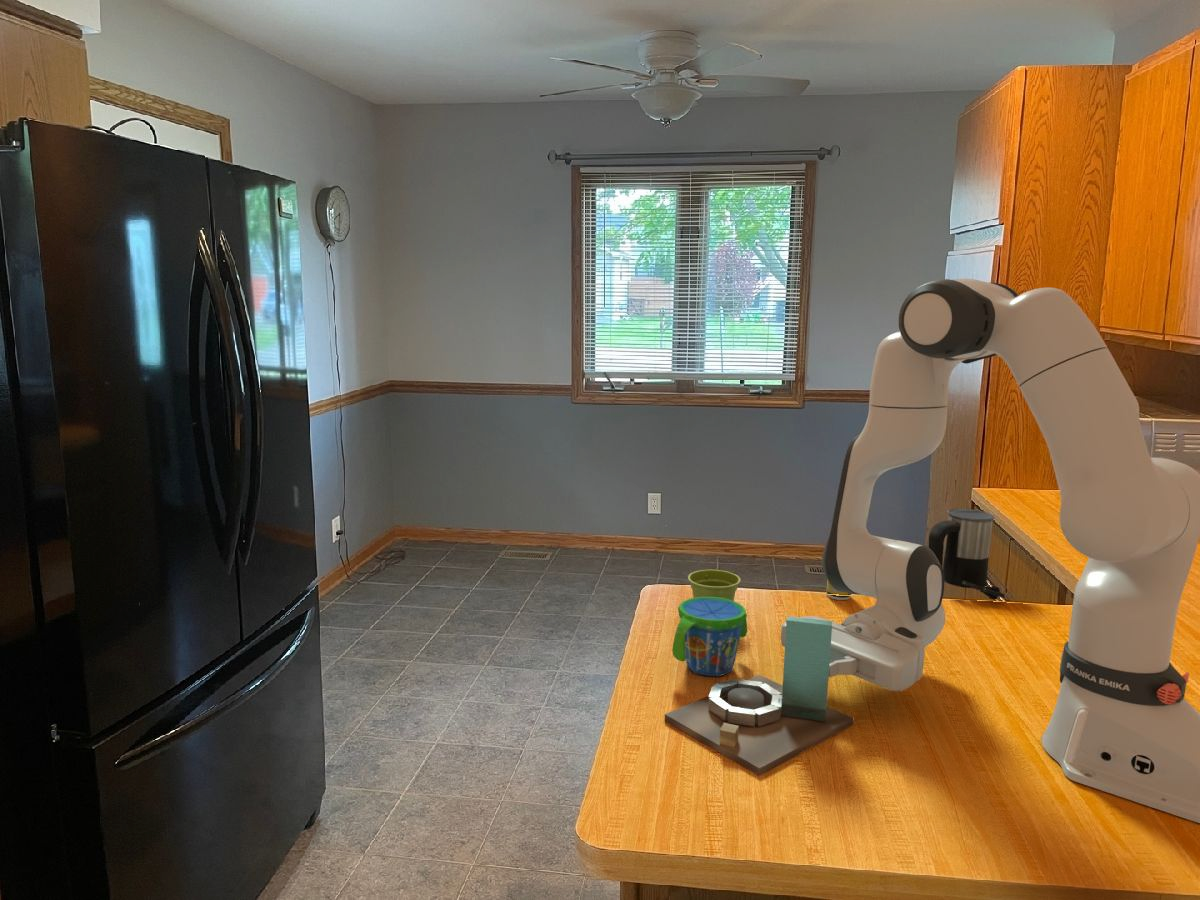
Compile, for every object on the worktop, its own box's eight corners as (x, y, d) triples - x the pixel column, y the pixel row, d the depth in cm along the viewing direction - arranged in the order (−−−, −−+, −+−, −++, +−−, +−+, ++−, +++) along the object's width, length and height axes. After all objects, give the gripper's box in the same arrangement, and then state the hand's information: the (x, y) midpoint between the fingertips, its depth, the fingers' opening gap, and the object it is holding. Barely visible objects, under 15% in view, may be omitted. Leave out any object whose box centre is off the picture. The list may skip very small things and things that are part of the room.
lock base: (853, 724, 115) (854, 704, 115) (759, 775, 103) (760, 753, 102) (758, 680, 128) (759, 662, 128) (664, 720, 116) (665, 700, 115)
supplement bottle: (852, 601, 162) (855, 560, 160) (827, 599, 163) (829, 558, 161) (849, 593, 166) (852, 553, 165) (825, 591, 167) (828, 551, 166)
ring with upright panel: (831, 719, 114) (837, 624, 111) (755, 743, 108) (760, 643, 105) (768, 680, 126) (772, 592, 123) (695, 699, 119) (699, 607, 117)
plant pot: (680, 628, 148) (681, 582, 146) (694, 610, 156) (696, 566, 155) (731, 637, 144) (733, 590, 143) (743, 618, 153) (745, 573, 151)
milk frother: (956, 571, 180) (962, 505, 178) (1028, 592, 168) (1036, 522, 165) (917, 584, 172) (924, 515, 169) (991, 607, 160) (998, 533, 157)
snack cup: (722, 644, 141) (724, 588, 139) (768, 667, 133) (771, 607, 131) (651, 667, 132) (652, 607, 130) (695, 693, 124) (697, 629, 122)
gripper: (813, 600, 131) (757, 621, 123) (935, 642, 116) (880, 669, 107) (811, 637, 133) (755, 661, 124) (931, 684, 117) (876, 714, 108)
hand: (814, 665), depth 115 cm, fingers open, 2 cm apart
